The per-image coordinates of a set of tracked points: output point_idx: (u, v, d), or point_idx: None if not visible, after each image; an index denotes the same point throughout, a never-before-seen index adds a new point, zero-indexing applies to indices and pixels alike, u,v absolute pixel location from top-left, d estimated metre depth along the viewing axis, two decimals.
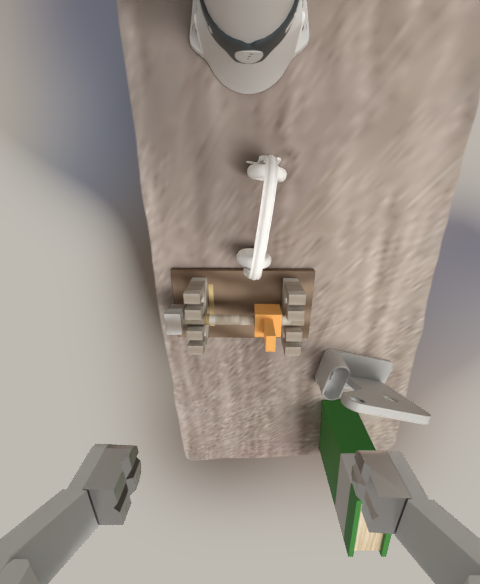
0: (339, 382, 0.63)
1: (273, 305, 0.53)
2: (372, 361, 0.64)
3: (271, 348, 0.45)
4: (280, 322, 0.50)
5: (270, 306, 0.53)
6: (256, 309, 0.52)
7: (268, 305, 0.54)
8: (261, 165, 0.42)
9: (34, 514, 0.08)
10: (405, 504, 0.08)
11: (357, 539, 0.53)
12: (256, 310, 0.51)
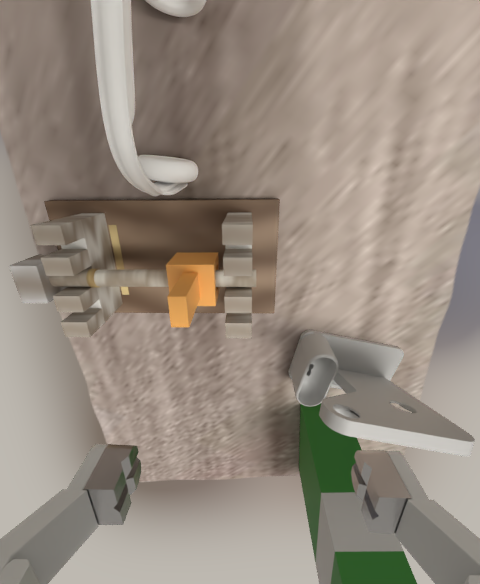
0: (322, 379, 0.41)
1: (207, 254, 0.32)
2: (372, 348, 0.43)
3: (181, 321, 0.24)
4: (212, 279, 0.29)
5: (201, 255, 0.31)
6: (174, 258, 0.30)
7: (198, 253, 0.32)
8: None
9: (34, 514, 0.08)
10: (405, 504, 0.08)
11: None
12: (174, 259, 0.30)
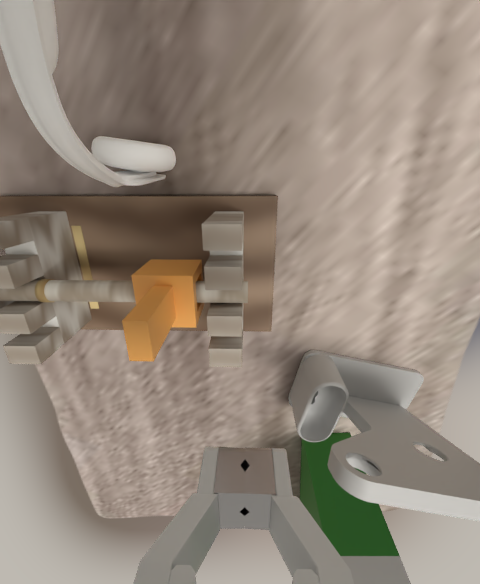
0: (329, 410, 0.35)
1: (187, 261, 0.26)
2: (387, 372, 0.37)
3: (143, 353, 0.18)
4: (191, 293, 0.22)
5: (179, 263, 0.25)
6: (144, 267, 0.24)
7: (177, 261, 0.26)
8: None
9: (176, 518, 0.07)
10: (270, 500, 0.08)
11: None
12: (144, 268, 0.24)
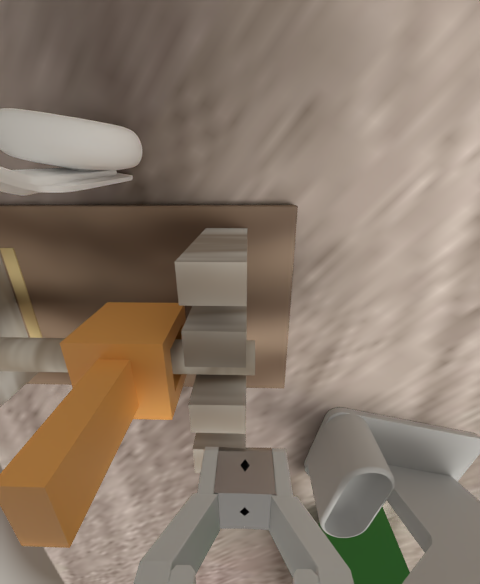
0: (362, 491, 0.26)
1: (161, 307, 0.17)
2: (437, 437, 0.28)
3: (46, 536, 0.09)
4: (161, 371, 0.13)
5: (148, 311, 0.16)
6: (90, 321, 0.15)
7: (145, 306, 0.17)
8: None
9: (176, 518, 0.07)
10: (270, 500, 0.08)
11: None
12: (89, 323, 0.15)
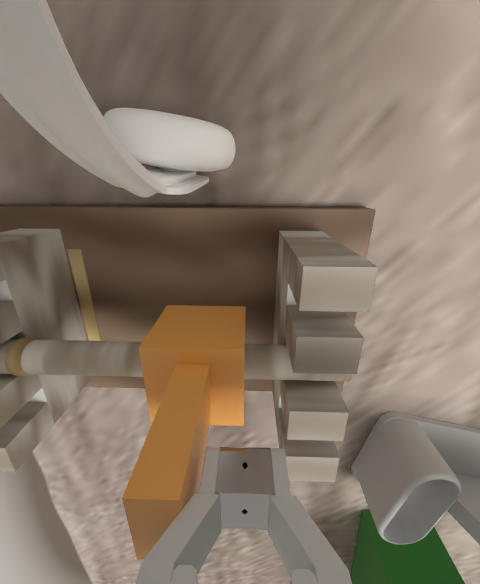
0: (418, 497, 0.26)
1: (224, 311, 0.16)
2: None
3: None
4: (239, 377, 0.13)
5: (213, 315, 0.16)
6: (159, 325, 0.15)
7: (208, 310, 0.17)
8: None
9: (178, 518, 0.07)
10: (269, 500, 0.08)
11: None
12: (159, 327, 0.14)
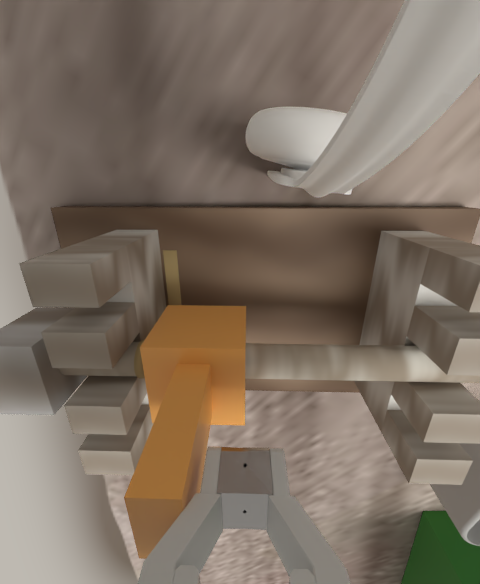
0: None
1: (225, 310, 0.16)
2: None
3: None
4: (240, 376, 0.13)
5: (214, 315, 0.16)
6: (160, 325, 0.15)
7: (209, 309, 0.17)
8: None
9: (179, 519, 0.07)
10: (268, 500, 0.08)
11: None
12: (160, 327, 0.15)
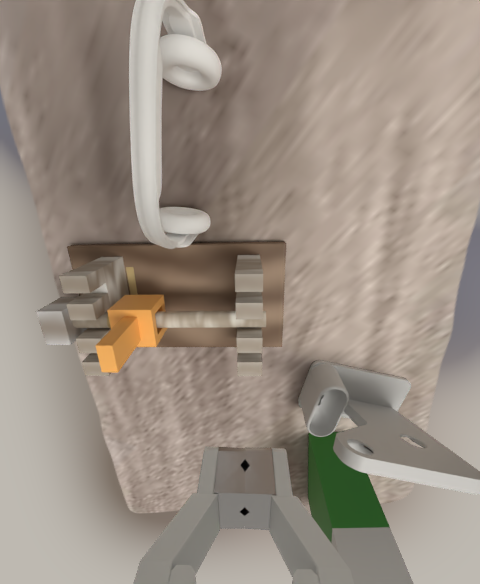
0: (332, 410, 0.42)
1: (152, 296, 0.34)
2: (380, 379, 0.44)
3: (110, 367, 0.26)
4: (150, 322, 0.31)
5: (145, 298, 0.34)
6: (118, 302, 0.32)
7: (144, 296, 0.34)
8: (167, 35, 0.23)
9: (176, 518, 0.07)
10: (270, 500, 0.08)
11: None
12: (118, 303, 0.32)
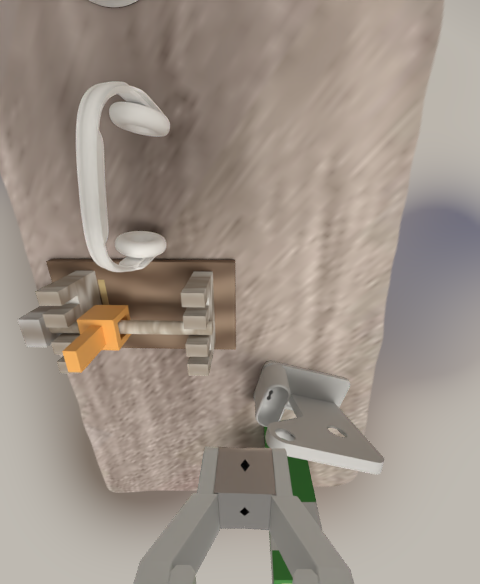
0: (279, 404, 0.49)
1: (117, 307, 0.40)
2: (323, 378, 0.51)
3: (75, 368, 0.32)
4: (113, 330, 0.37)
5: (111, 308, 0.40)
6: (87, 312, 0.38)
7: (111, 306, 0.40)
8: (119, 103, 0.29)
9: (176, 518, 0.07)
10: (270, 500, 0.08)
11: None
12: (87, 313, 0.38)
